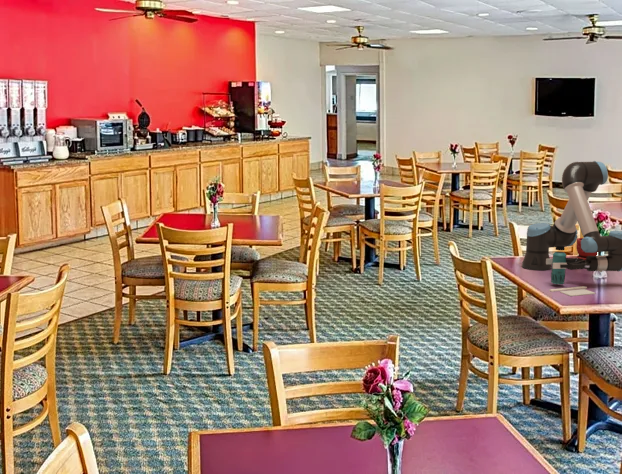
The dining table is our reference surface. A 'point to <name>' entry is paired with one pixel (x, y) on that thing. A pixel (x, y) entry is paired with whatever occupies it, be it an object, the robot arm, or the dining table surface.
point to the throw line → (567, 288)
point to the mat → (577, 292)
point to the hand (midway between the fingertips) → (549, 263)
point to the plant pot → (581, 253)
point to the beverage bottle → (558, 274)
